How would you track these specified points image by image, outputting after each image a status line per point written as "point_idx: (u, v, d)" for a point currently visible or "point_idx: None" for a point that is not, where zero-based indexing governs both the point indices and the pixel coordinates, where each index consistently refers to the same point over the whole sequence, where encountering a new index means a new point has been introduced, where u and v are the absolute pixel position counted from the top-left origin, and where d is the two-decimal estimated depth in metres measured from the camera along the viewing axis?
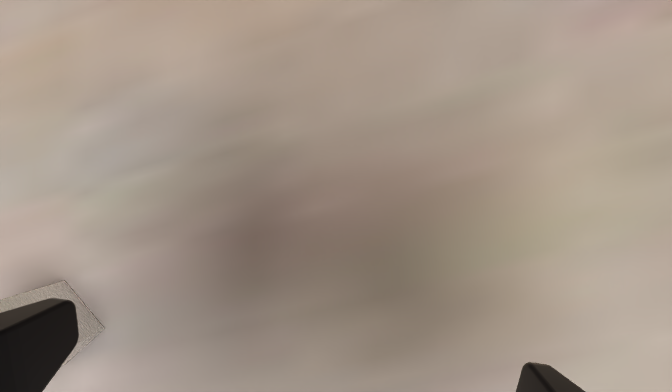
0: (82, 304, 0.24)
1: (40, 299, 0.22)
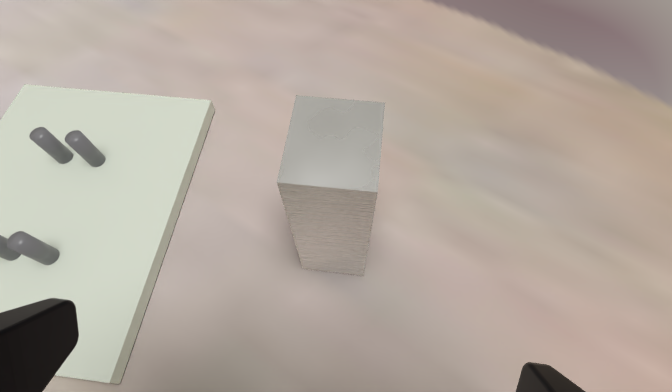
0: None
1: None
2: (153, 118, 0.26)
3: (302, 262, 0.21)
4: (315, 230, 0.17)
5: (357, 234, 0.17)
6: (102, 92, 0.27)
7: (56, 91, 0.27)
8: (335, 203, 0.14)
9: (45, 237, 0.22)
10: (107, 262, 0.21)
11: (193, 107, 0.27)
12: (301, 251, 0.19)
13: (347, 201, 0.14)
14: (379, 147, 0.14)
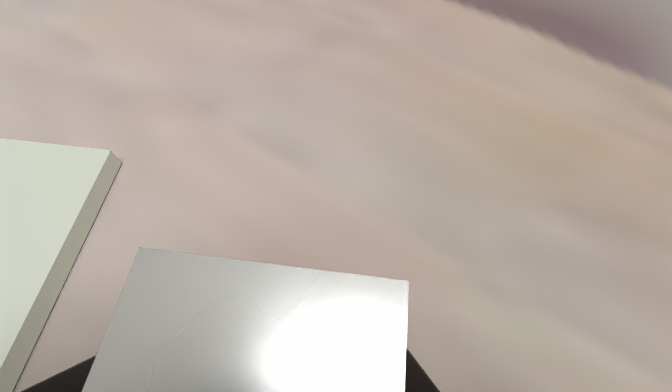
0: None
1: None
2: (10, 180, 0.16)
3: None
4: None
5: None
6: None
7: None
8: None
9: None
10: None
11: (80, 162, 0.16)
12: None
13: None
14: None
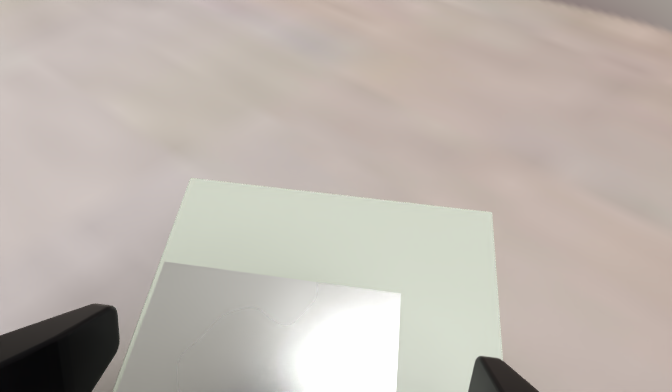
0: None
1: None
2: (412, 244, 0.16)
3: None
4: None
5: None
6: (316, 194, 0.18)
7: (243, 191, 0.18)
8: None
9: None
10: None
11: (469, 225, 0.17)
12: None
13: None
14: None
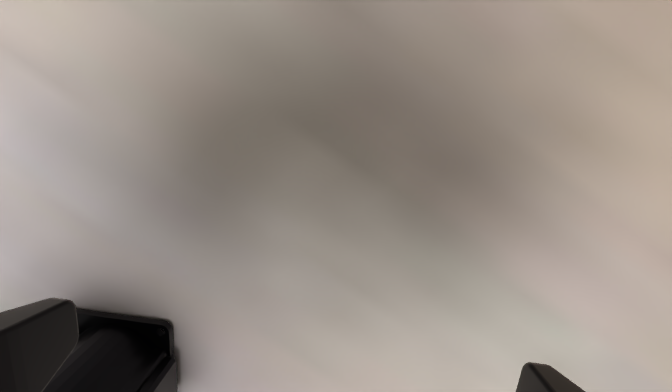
0: None
1: None
2: None
3: None
4: None
5: None
6: None
7: None
8: None
9: None
10: None
11: None
12: None
13: None
14: None
